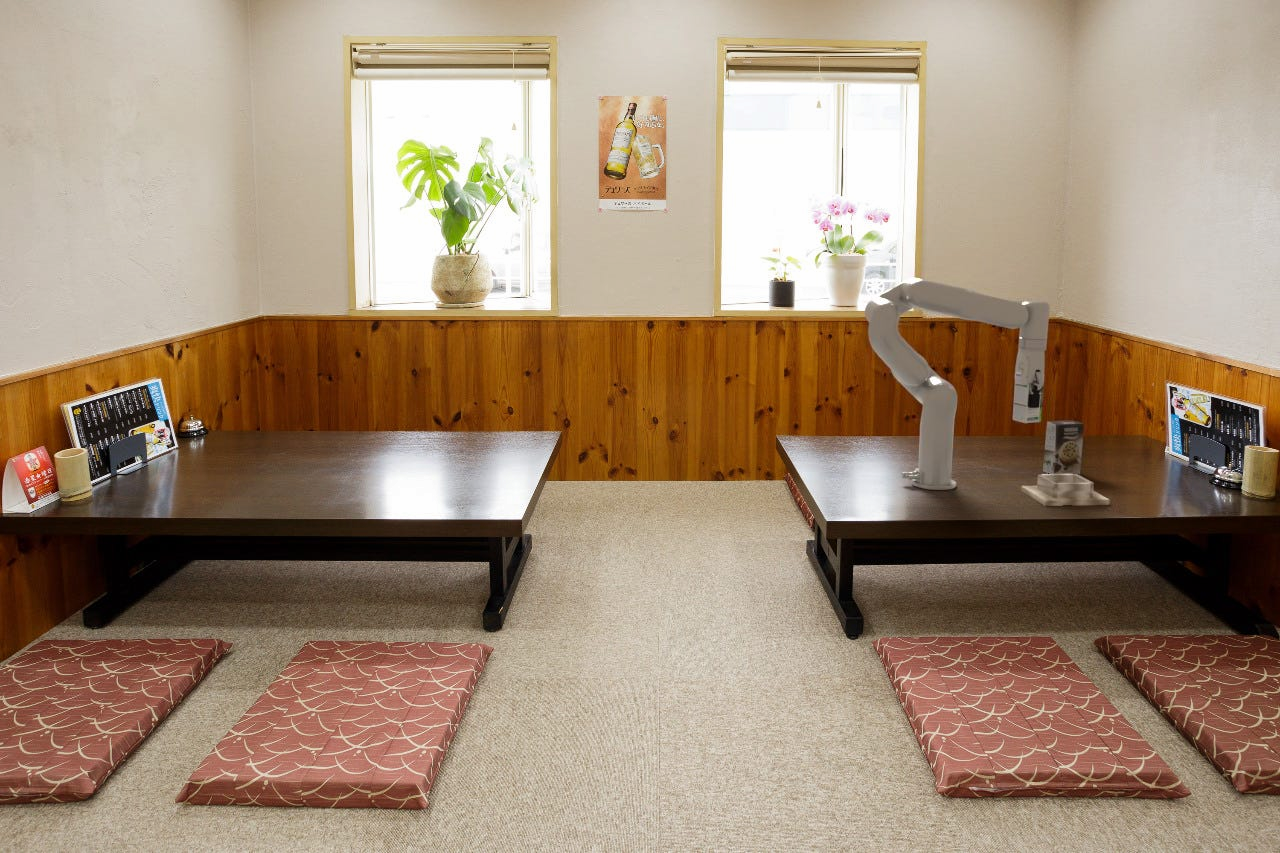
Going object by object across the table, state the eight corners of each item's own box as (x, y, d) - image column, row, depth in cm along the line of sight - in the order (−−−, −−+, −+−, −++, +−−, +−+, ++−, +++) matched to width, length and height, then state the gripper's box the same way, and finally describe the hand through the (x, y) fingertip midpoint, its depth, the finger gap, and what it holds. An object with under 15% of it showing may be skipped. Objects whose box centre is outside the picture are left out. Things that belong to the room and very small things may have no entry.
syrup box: (1025, 423, 297) (1029, 373, 294) (1011, 419, 303) (1015, 370, 300) (1041, 422, 299) (1045, 372, 296) (1026, 418, 305) (1030, 370, 302)
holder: (1044, 505, 283) (1046, 486, 282) (1021, 490, 299) (1022, 472, 298) (1109, 504, 284) (1110, 485, 283) (1082, 489, 299) (1083, 471, 298)
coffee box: (1054, 476, 315) (1058, 424, 312) (1042, 471, 321) (1045, 420, 318) (1081, 474, 317) (1085, 423, 314) (1068, 469, 323) (1072, 419, 320)
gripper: (1007, 340, 305) (1003, 400, 308) (1032, 348, 288) (1027, 410, 291) (1032, 340, 305) (1027, 400, 309) (1058, 348, 288) (1053, 410, 292)
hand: (1027, 404), depth 300 cm, fingers closed on syrup box, 7 cm apart
